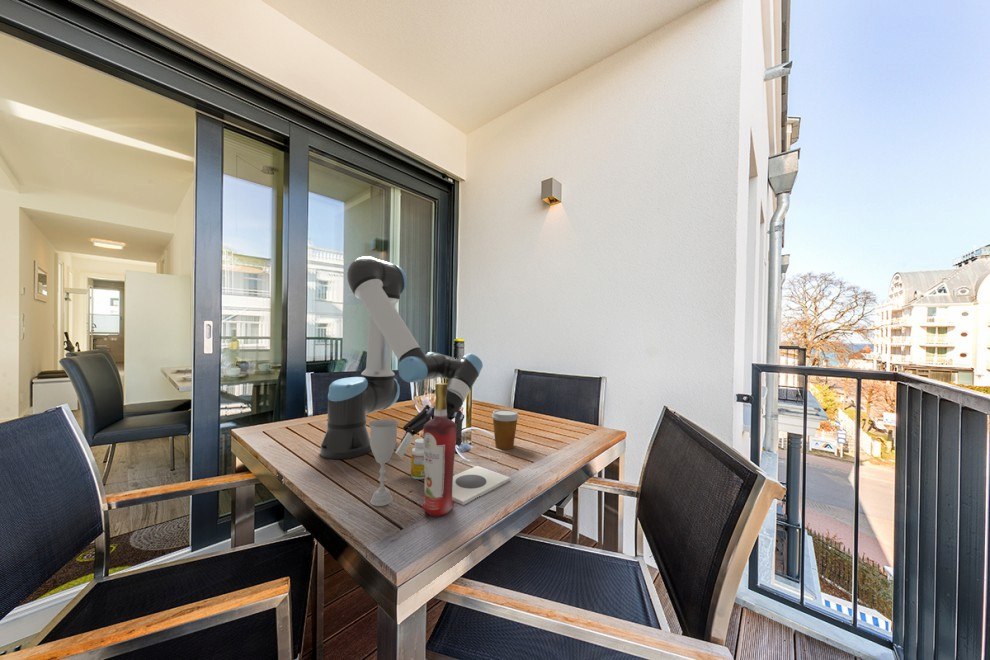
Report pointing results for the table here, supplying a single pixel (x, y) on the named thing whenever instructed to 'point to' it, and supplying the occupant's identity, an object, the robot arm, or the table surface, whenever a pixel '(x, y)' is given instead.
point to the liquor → (439, 457)
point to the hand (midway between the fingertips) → (415, 460)
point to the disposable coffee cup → (504, 428)
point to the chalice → (382, 454)
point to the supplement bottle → (418, 460)
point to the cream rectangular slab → (475, 483)
